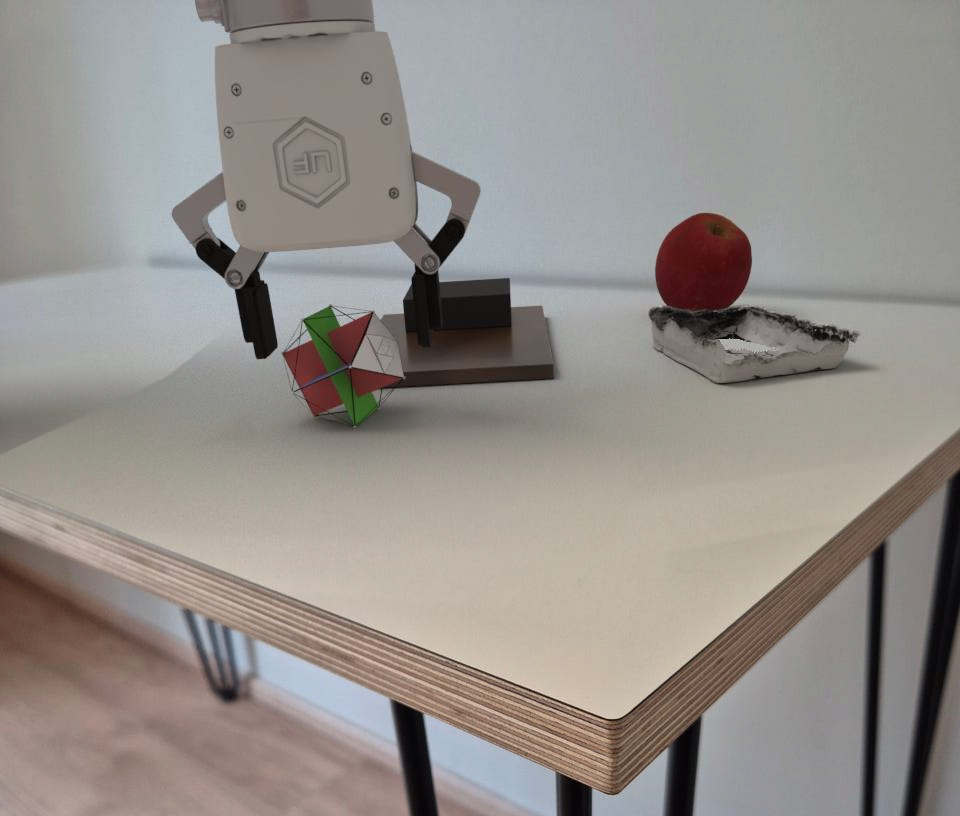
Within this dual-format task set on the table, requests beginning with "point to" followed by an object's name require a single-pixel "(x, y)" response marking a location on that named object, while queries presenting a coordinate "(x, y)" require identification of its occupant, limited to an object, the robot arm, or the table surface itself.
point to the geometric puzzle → (344, 363)
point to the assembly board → (476, 352)
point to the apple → (703, 263)
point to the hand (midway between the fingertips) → (346, 348)
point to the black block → (468, 304)
